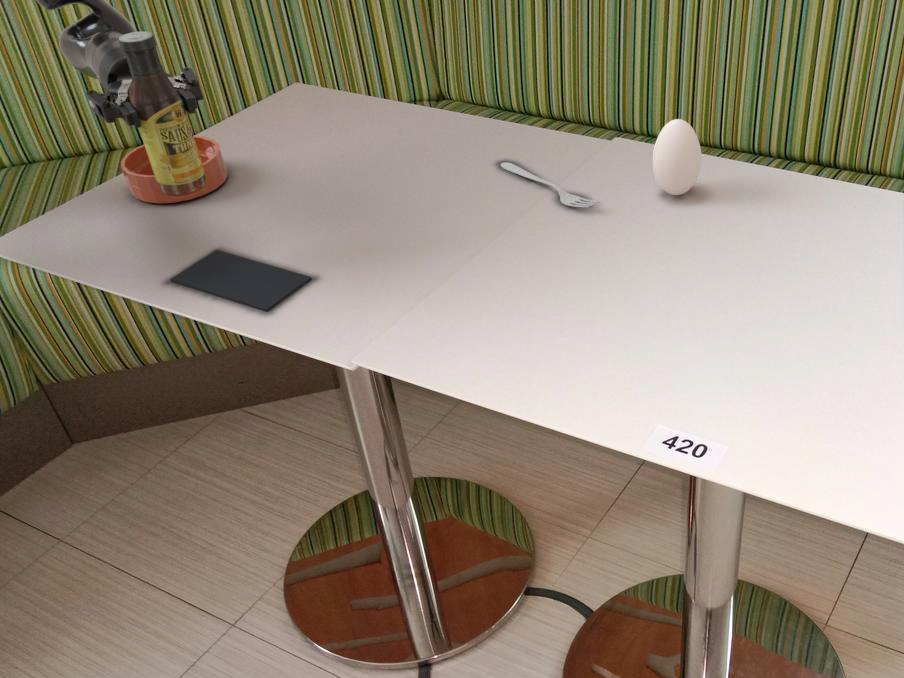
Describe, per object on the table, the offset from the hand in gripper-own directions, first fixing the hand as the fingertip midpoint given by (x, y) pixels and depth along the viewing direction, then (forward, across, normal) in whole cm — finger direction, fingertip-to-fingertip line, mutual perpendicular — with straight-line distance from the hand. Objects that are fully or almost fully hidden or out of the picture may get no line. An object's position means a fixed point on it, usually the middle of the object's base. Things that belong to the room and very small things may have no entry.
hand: (164, 112), depth 122 cm
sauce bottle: (-2, 0, +11) cm, 12 cm away
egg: (+22, +66, +23) cm, 73 cm away
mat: (+5, +2, +23) cm, 24 cm away
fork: (+8, +51, +23) cm, 56 cm away
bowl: (-31, +4, +23) cm, 39 cm away
